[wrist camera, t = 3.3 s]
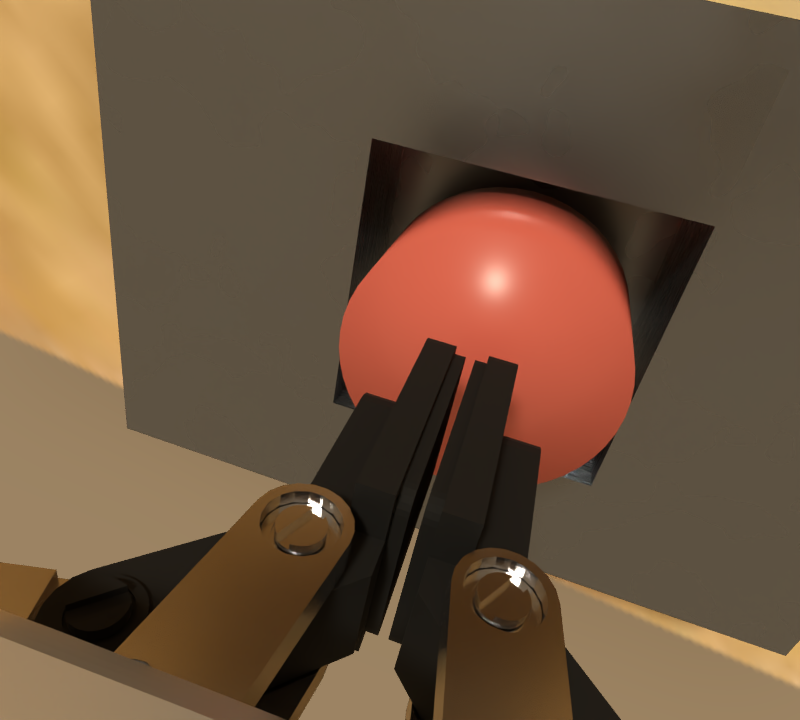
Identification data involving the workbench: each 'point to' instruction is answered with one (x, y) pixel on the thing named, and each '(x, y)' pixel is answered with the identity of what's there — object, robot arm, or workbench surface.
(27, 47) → the workbench surface
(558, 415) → the button
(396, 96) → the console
